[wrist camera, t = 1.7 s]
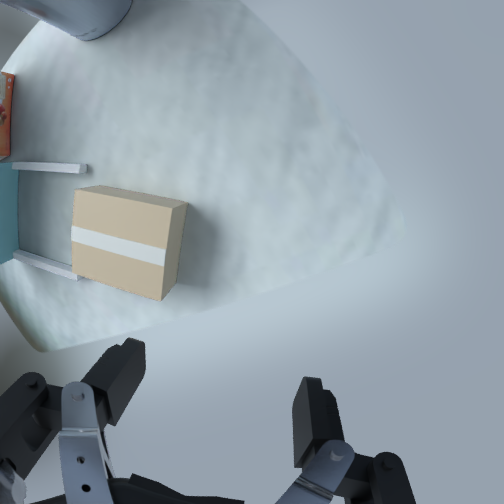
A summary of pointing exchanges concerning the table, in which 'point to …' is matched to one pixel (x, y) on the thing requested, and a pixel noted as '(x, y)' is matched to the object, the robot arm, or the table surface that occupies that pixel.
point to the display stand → (6, 215)
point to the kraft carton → (127, 239)
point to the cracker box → (5, 112)
